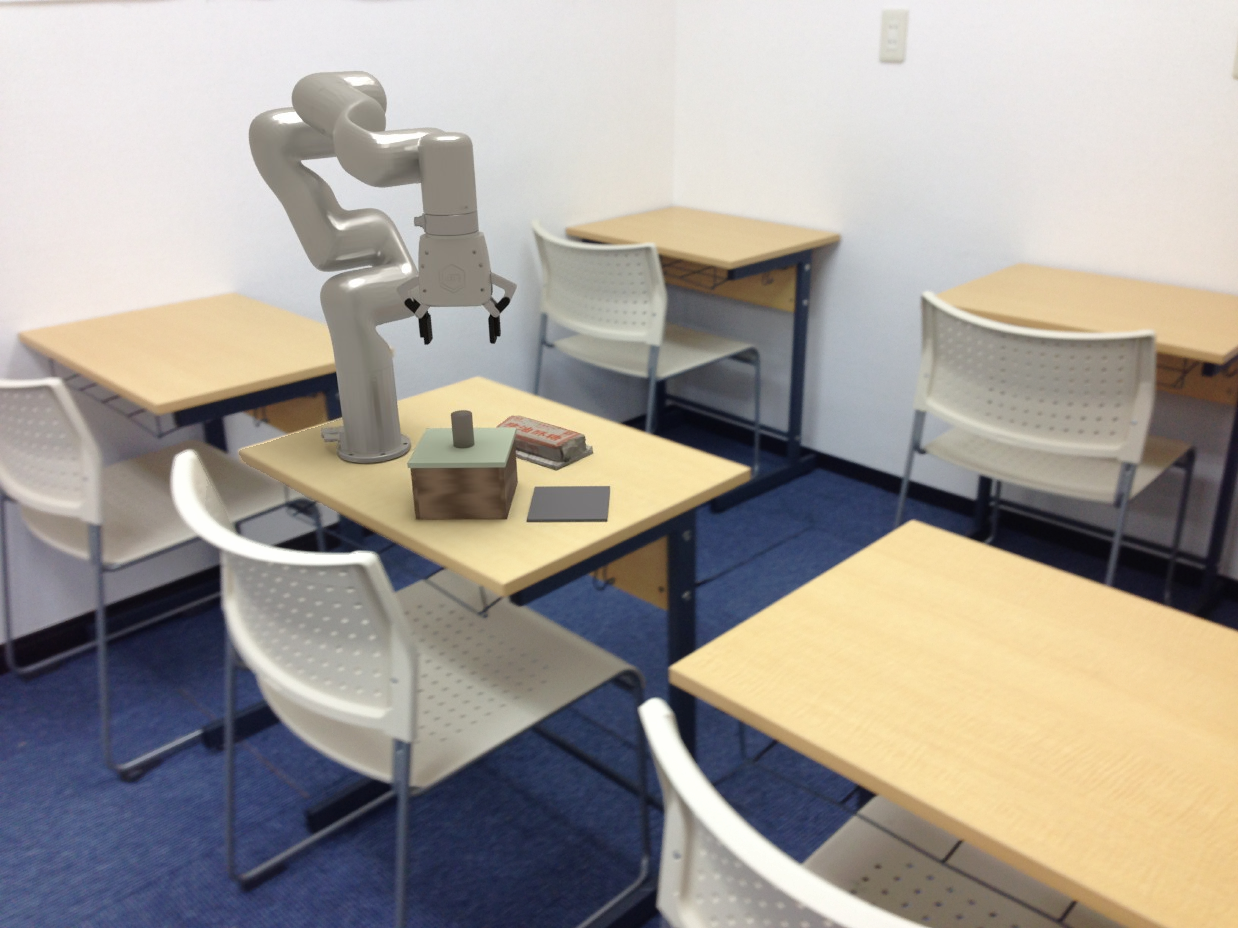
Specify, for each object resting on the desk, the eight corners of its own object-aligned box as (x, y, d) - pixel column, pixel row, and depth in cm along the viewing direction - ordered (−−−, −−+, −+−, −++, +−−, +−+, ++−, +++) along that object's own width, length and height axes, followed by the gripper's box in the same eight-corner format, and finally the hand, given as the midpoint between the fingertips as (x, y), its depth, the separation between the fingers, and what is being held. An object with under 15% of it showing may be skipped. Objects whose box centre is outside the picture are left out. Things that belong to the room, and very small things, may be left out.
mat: (526, 521, 155) (526, 519, 155) (535, 488, 166) (534, 486, 166) (607, 521, 155) (607, 518, 155) (610, 488, 166) (610, 485, 166)
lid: (408, 475, 154) (403, 431, 151) (427, 439, 167) (423, 398, 164) (505, 474, 153) (502, 430, 150) (517, 439, 166) (514, 397, 164)
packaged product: (595, 428, 178) (555, 446, 171) (595, 455, 180) (556, 473, 173) (519, 407, 189) (479, 423, 182) (521, 432, 191) (481, 449, 184)
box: (415, 519, 157) (410, 467, 153) (433, 482, 169) (428, 433, 166) (506, 518, 156) (503, 466, 153) (517, 481, 169) (514, 432, 166)
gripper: (384, 230, 144) (397, 350, 150) (509, 228, 143) (516, 348, 150) (396, 221, 150) (407, 335, 157) (515, 219, 150) (522, 334, 157)
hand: (461, 341), depth 153 cm, fingers open, 9 cm apart
